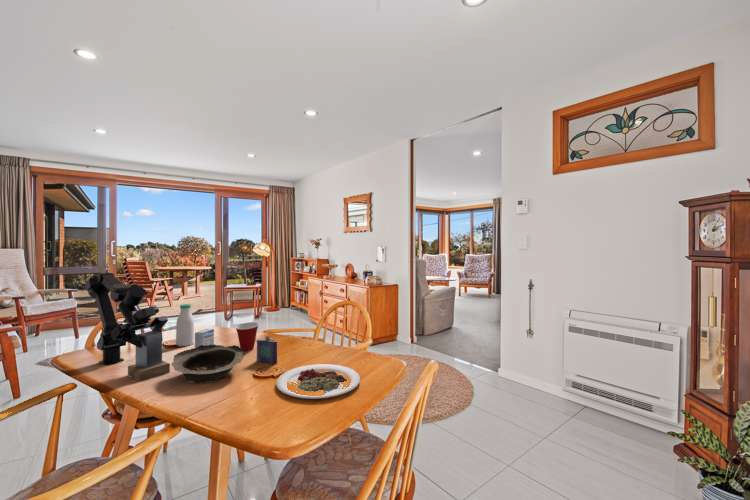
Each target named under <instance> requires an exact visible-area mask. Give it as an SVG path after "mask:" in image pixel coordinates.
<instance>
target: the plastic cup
mask: <svg viewBox="0 0 750 500" xmlns="http://www.w3.org/2000/svg"><path fill="white" fill-rule="evenodd" d="M259 324H260V323H259V322H252V321H251V322H243V323H239V324H237V325H235V326H234V328H235V330H236V333H237V337H238V343H239V347H240V348H241V349H242V350H243V352H249V351H250V352H251V351H252V350H254V348H255V343H256V340H257V332H258V328H259Z"/></svg>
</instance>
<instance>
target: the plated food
mask: <svg viewBox="0 0 750 500" xmlns="http://www.w3.org/2000/svg"><path fill="white" fill-rule="evenodd" d="M321 370H325V371H328V372H322V373H319V372H317V371H321ZM334 371H336V372H341V373H343V374H345V375H347V376H348V377H349V378H350V379H351V383H350V385H349V387H347V388H346V387H343V384H341V383H342V382H344V381H347V380H348V379H345V378H344V377H343V375H337V373H336V372H334ZM294 380H295V381H294ZM297 380H300V381H301V382H300V383H299V384H298V385H297V386H296V387H298V388H299V389H301V390H302V391H303V390H304V391H310V392H311V391H314V392H316V391H318V390H323V391H324V393H325V395H322V396H307V395H300V394H296V393H294V392H291V391H290V390H288V388H287V382H289V381H290V382H294V383H296V384H297V382H298V381H297ZM296 381H297V382H296ZM360 381H361V378H360V374H359V373H358V372H357V371H356V370H355V369H352V368H350V367H347V366H343V365H340V364H332V363H331V364H330V363H329V364H328V363H321V364H320V363H317V364H308V365H303V366H298V367H294V368H292V369H289V370H287V371H285V372H284V373H282V374H281V375H280V376H279V377H278V378H277V380H276V387H277V389H278V390H279V391H280V392H281V393H283V394H285V395H288V396H290V397H295V398H299V399H312V400H313V399H315V400H316V399H328V398H333V397H336V396H341V395H343V394H346V393H349V392H351V391H352V390H354V389H355V388H356V387H358V386H359V384H360ZM290 382H289V383H290ZM339 382H341V383H339ZM290 384H291V383H290ZM294 385H295V384H294ZM340 386H341V387H340ZM346 386H347V385H346ZM342 387H343V388H344V389H342ZM339 388H340V389H339ZM345 388H346V389H345ZM296 392H297V391H296Z"/></svg>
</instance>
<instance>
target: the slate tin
mask: <svg viewBox="0 0 750 500" xmlns="http://www.w3.org/2000/svg"><path fill="white" fill-rule="evenodd" d="M136 335H137V337H138V339H139V340H140V342H141V344H142V348H139V347H137V346H135V366H136V367H142V368H149V367H152V366H155V365H158V364H161V363H162V361H163V341H162V338H163V332H155V331H152V330H151V331H150V330H149V331H146V332H145V331H144V332H141V333H138V334H137V333H136Z"/></svg>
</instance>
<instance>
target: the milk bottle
mask: <svg viewBox="0 0 750 500" xmlns="http://www.w3.org/2000/svg"><path fill="white" fill-rule="evenodd" d="M191 306H192V305H191V303H182V304H180V305H179V308H180V309H179V310H180V313H179V315H178V316H177V319H176V324H175V325H176V326H175V327H176V329H175V331H176V332H175V345H176V346H177V345H178V346H177V347H188V346H191V345H194V344H195V319H194V316H193V314H192V312H191V308H192V307H191Z"/></svg>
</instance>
